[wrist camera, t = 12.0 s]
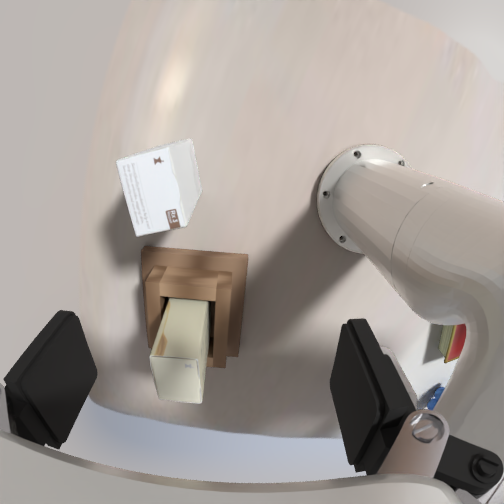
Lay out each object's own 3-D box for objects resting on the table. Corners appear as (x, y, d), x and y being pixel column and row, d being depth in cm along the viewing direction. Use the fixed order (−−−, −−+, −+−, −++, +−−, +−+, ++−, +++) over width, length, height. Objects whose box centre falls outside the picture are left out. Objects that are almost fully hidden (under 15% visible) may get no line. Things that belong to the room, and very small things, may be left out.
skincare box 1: (154, 146, 30) (108, 158, 19) (195, 137, 30) (168, 141, 19) (166, 201, 33) (130, 239, 22) (206, 193, 33) (187, 228, 21)
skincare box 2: (173, 283, 35) (146, 352, 24) (210, 284, 35) (198, 356, 24) (177, 328, 37) (157, 401, 26) (211, 330, 38) (202, 405, 26)
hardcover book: (446, 288, 39) (460, 302, 35) (527, 261, 38) (542, 271, 34) (434, 348, 44) (445, 364, 40) (514, 316, 43) (526, 328, 39)
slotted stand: (247, 254, 35) (249, 276, 30) (238, 349, 41) (237, 378, 36) (144, 245, 35) (129, 265, 30) (151, 341, 40) (141, 367, 35)
